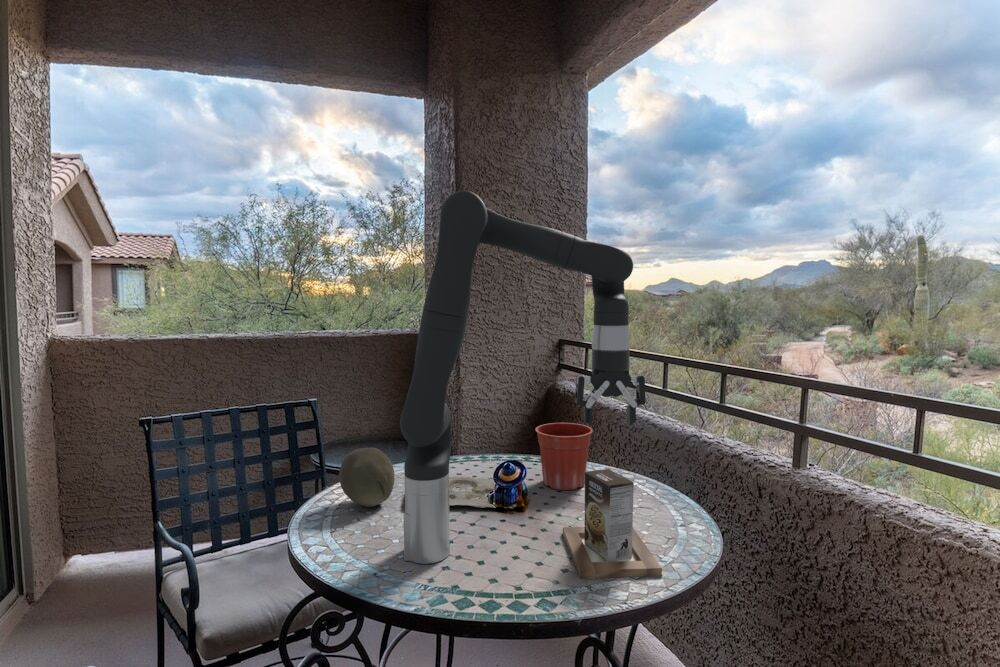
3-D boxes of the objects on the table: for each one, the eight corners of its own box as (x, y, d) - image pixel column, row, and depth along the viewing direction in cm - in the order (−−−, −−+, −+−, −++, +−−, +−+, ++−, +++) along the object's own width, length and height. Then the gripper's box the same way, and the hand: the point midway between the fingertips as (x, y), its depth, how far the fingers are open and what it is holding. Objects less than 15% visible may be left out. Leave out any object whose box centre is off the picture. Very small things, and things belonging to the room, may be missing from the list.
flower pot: (523, 481, 152) (523, 427, 151) (563, 470, 162) (564, 419, 161) (563, 498, 139) (563, 439, 138) (604, 485, 149) (604, 430, 148)
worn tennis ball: (397, 493, 143) (396, 440, 142) (392, 514, 129) (391, 455, 128) (344, 496, 141) (343, 442, 140) (334, 517, 127) (332, 458, 126)
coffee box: (582, 544, 112) (583, 471, 111) (607, 539, 114) (608, 467, 113) (607, 564, 103) (608, 485, 102) (633, 557, 106) (634, 480, 105)
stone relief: (525, 513, 131) (522, 483, 151) (525, 502, 131) (522, 473, 151) (398, 514, 131) (411, 484, 151) (397, 503, 131) (411, 474, 151)
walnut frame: (579, 578, 99) (580, 570, 99) (562, 533, 118) (562, 527, 118) (661, 575, 100) (661, 568, 100) (631, 531, 119) (631, 525, 119)
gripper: (580, 349, 102) (579, 430, 103) (650, 348, 103) (649, 429, 104) (572, 345, 109) (572, 421, 110) (638, 345, 110) (637, 420, 111)
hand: (609, 424), depth 107 cm, fingers open, 8 cm apart
